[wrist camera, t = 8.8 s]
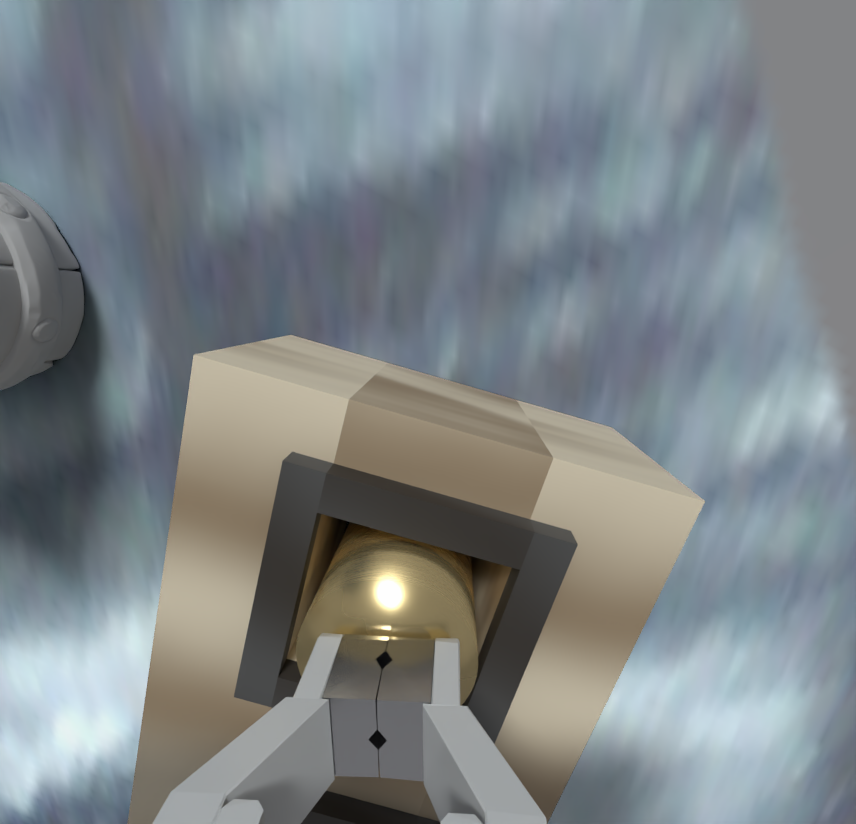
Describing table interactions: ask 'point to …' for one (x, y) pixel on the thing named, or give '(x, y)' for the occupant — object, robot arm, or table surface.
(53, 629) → the table surface
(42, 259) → the mug
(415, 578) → the peg
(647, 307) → the table surface
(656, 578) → the socket block
